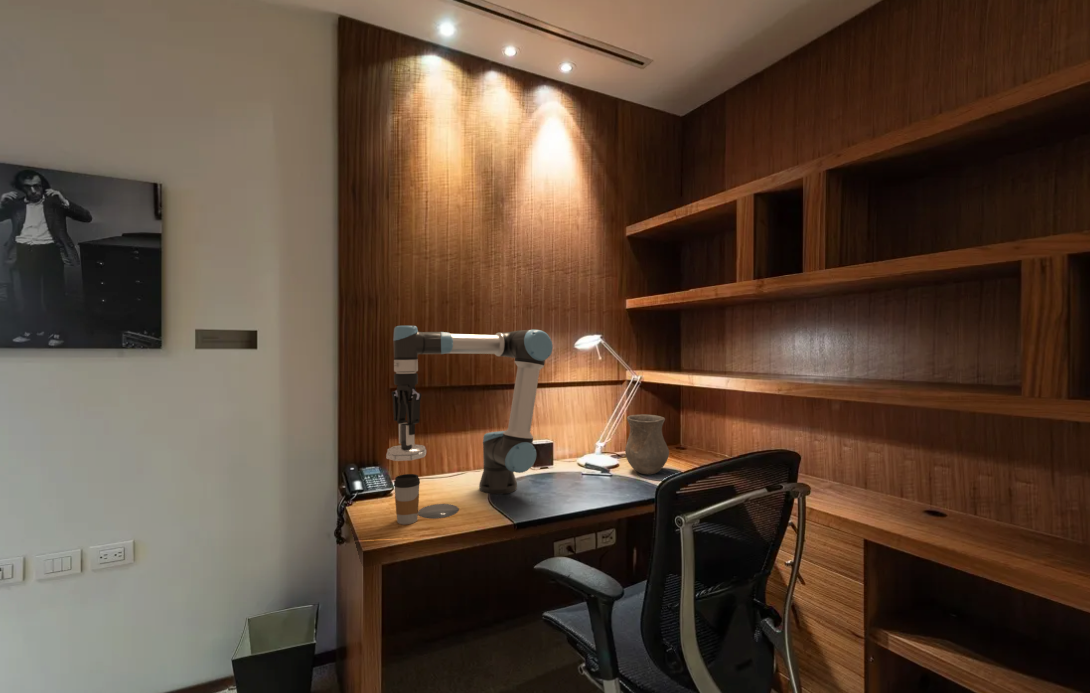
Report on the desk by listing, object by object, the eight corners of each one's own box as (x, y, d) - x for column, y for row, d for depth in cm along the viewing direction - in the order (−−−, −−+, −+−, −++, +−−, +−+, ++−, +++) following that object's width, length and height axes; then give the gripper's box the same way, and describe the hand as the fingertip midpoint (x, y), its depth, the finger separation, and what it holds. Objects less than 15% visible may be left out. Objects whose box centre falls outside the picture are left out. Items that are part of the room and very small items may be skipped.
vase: (678, 475, 203) (677, 418, 203) (641, 481, 196) (641, 422, 195) (651, 464, 221) (651, 412, 221) (616, 469, 214) (616, 415, 214)
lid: (427, 451, 159) (427, 420, 159) (422, 459, 147) (422, 427, 147) (391, 452, 158) (391, 421, 157) (383, 461, 146) (383, 428, 146)
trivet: (460, 504, 169) (460, 502, 169) (457, 518, 155) (457, 517, 155) (421, 506, 168) (421, 504, 168) (414, 520, 154) (414, 519, 154)
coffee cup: (397, 518, 156) (396, 473, 156) (422, 517, 157) (422, 473, 157) (391, 527, 148) (390, 481, 148) (417, 526, 149) (417, 480, 149)
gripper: (381, 372, 154) (382, 442, 154) (411, 374, 144) (412, 449, 144) (401, 371, 160) (401, 438, 160) (430, 372, 150) (431, 445, 150)
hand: (406, 443), depth 152 cm, fingers closed on lid, 3 cm apart
